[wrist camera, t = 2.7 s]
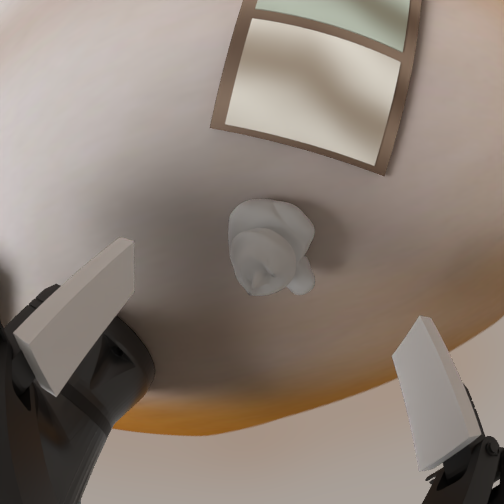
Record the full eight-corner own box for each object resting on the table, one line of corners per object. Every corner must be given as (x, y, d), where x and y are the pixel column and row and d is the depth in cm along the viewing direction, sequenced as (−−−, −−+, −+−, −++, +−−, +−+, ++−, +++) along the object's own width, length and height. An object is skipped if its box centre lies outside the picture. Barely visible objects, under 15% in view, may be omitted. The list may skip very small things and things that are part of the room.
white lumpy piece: (271, 170, 17) (260, 206, 10) (336, 242, 19) (361, 315, 11) (214, 224, 19) (172, 287, 12) (278, 285, 21) (271, 368, 13)
